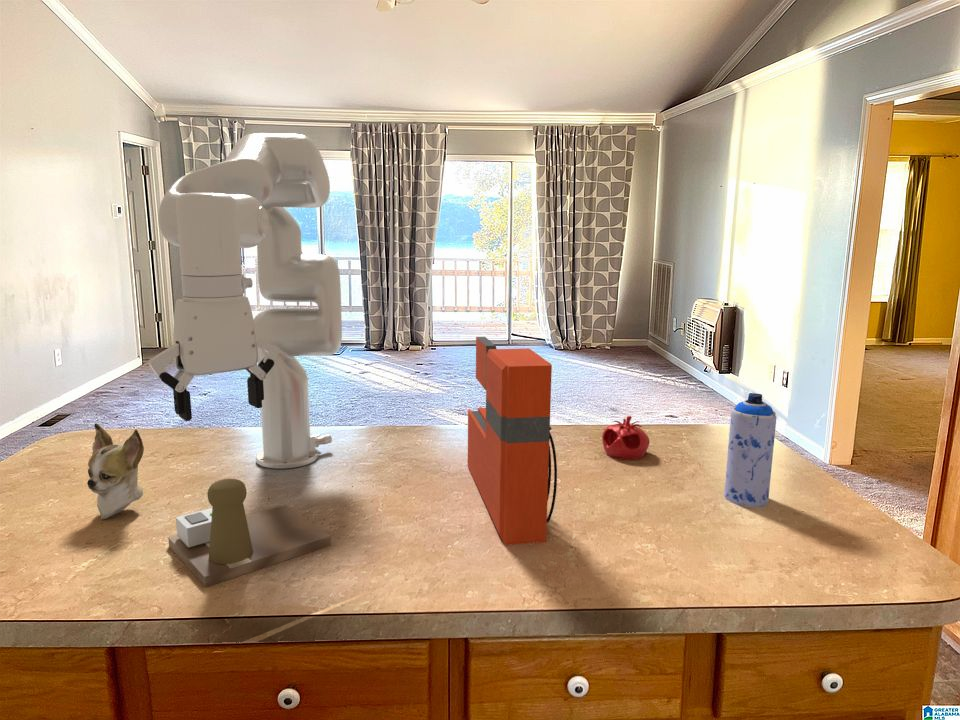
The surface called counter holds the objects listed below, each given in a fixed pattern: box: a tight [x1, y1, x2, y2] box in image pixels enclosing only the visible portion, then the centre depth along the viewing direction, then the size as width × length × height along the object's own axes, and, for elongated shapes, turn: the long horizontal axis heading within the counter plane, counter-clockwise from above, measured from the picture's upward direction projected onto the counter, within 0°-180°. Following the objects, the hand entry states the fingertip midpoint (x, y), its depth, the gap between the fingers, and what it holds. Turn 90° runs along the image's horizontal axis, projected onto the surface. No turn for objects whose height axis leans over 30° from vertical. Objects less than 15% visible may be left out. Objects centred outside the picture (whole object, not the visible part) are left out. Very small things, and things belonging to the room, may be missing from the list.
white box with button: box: [175, 507, 212, 548], centre depth 101 cm, size 6×5×3 cm
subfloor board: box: [167, 504, 332, 588], centre depth 102 cm, size 19×16×2 cm
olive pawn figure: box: [206, 478, 253, 564], centre depth 95 cm, size 6×6×11 cm
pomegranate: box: [601, 415, 650, 460], centre depth 143 cm, size 10×10×9 cm
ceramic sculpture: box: [87, 422, 145, 520], centre depth 111 cm, size 11×9×15 cm
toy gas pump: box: [467, 336, 558, 546], centre depth 118 cm, size 9×35×28 cm, turn 11°
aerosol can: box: [723, 392, 777, 508], centre depth 119 cm, size 8×8×20 cm
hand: (221, 412), depth 92 cm, fingers open, 9 cm apart
